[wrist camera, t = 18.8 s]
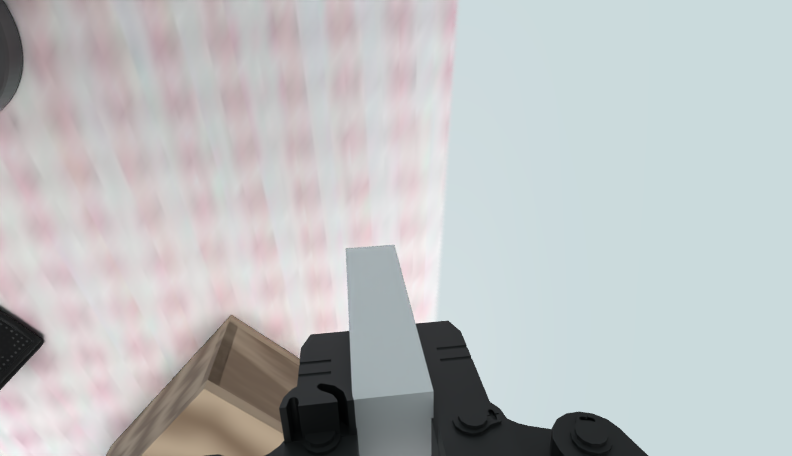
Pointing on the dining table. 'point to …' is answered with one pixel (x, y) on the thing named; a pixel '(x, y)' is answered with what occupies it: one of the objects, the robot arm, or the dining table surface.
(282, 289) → the dining table surface
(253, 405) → the wooden cabinet
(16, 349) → the portable radio
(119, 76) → the dining table surface
